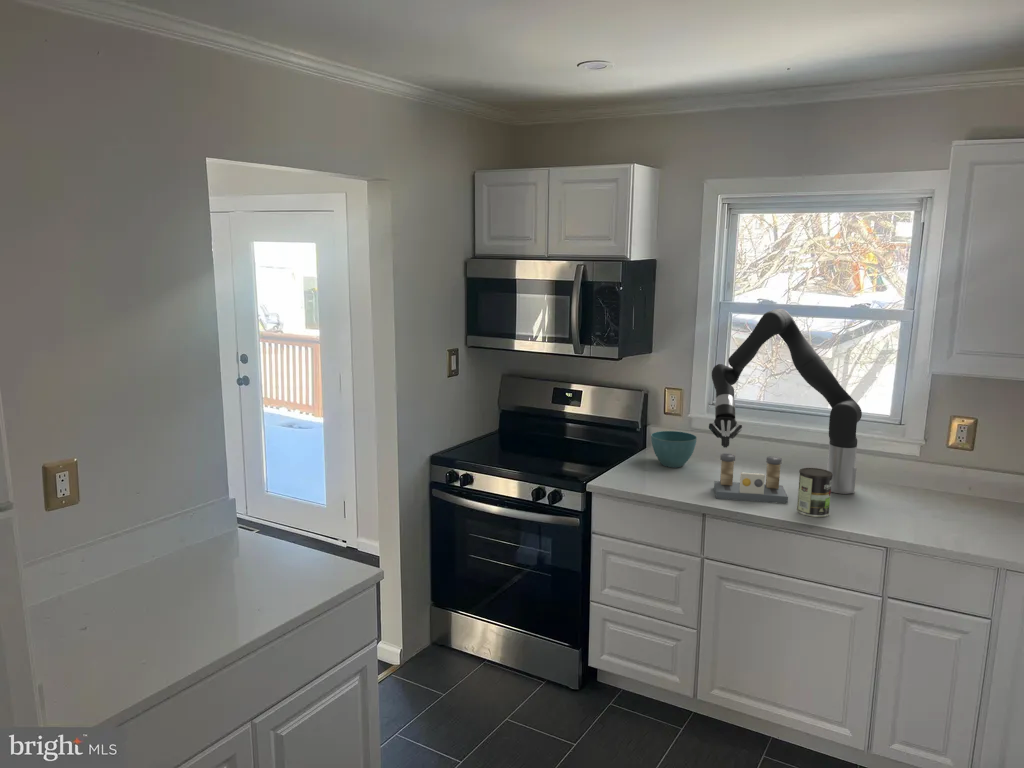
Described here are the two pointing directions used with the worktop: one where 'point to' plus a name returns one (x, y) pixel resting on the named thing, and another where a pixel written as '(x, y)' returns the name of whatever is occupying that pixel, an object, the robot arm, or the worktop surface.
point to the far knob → (727, 469)
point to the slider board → (750, 490)
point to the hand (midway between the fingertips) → (725, 446)
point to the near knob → (773, 472)
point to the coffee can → (814, 492)
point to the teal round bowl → (673, 447)
